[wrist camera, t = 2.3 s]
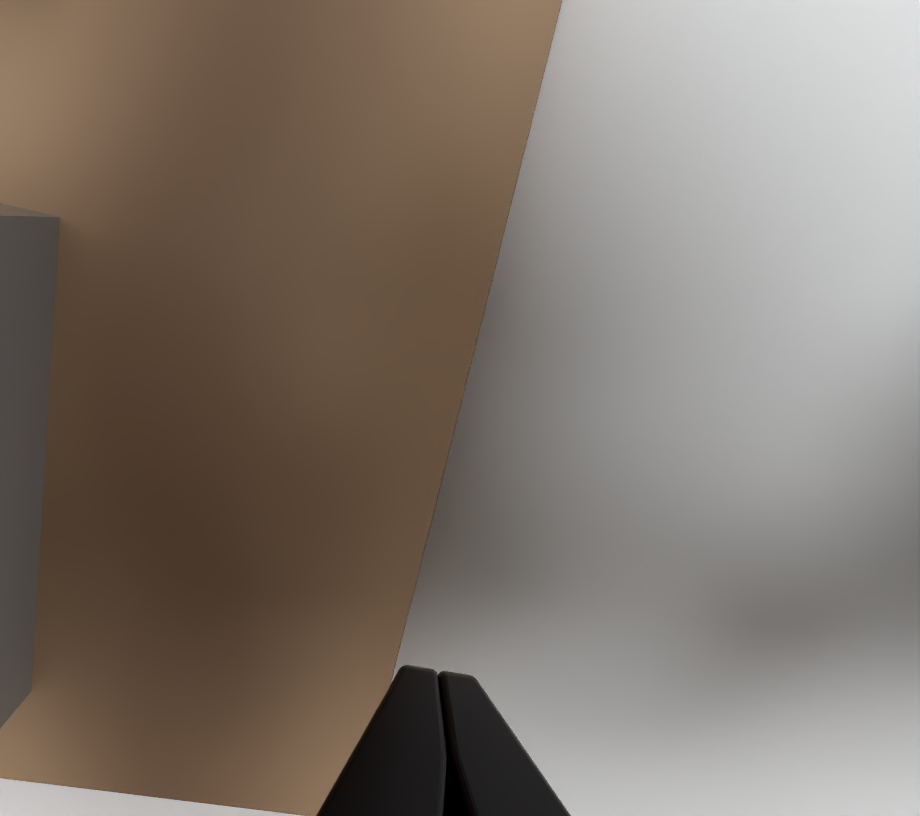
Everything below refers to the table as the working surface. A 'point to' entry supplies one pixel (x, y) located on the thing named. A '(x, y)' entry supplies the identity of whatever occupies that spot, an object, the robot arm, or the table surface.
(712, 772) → the table surface
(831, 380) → the table surface
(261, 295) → the board
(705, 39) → the table surface
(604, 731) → the table surface
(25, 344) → the tile
